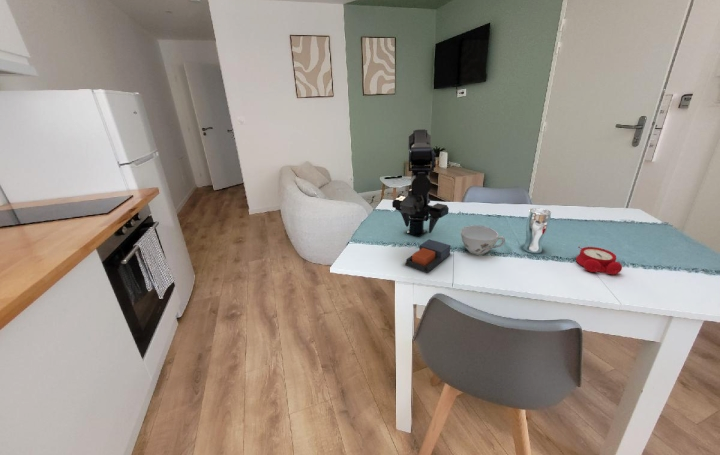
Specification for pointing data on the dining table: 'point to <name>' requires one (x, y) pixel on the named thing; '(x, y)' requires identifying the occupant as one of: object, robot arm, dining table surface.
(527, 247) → the beer glass
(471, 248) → the teacup
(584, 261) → the alarm clock
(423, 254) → the orange block
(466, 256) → the dining table surface
